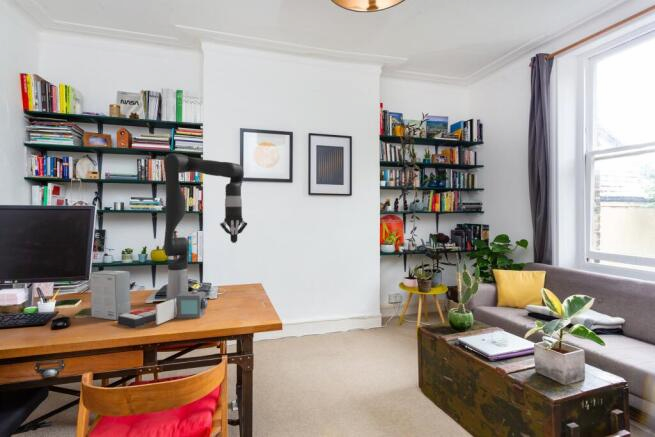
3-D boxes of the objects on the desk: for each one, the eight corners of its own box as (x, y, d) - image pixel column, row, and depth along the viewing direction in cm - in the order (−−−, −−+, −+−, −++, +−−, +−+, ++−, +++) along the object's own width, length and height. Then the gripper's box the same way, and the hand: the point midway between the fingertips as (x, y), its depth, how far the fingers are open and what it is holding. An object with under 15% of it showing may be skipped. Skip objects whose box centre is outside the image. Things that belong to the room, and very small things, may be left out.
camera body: (173, 319, 147) (173, 294, 146) (181, 313, 155) (181, 290, 155) (203, 319, 147) (202, 294, 147) (209, 313, 155) (208, 289, 155)
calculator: (166, 309, 150) (134, 318, 136) (166, 319, 150) (134, 328, 136) (149, 306, 155) (117, 314, 141) (149, 316, 155) (117, 324, 141)
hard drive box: (131, 315, 152) (130, 271, 152) (116, 320, 145) (114, 274, 144) (106, 311, 158) (105, 269, 157) (90, 317, 150) (89, 272, 150)
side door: (171, 317, 146) (171, 299, 146) (174, 317, 146) (173, 299, 146) (154, 324, 138) (154, 304, 138) (157, 324, 137) (157, 305, 137)
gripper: (221, 205, 151) (221, 244, 152) (249, 205, 158) (250, 242, 159) (217, 205, 158) (217, 242, 158) (244, 205, 165) (245, 241, 165)
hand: (234, 242), depth 159 cm, fingers closed
